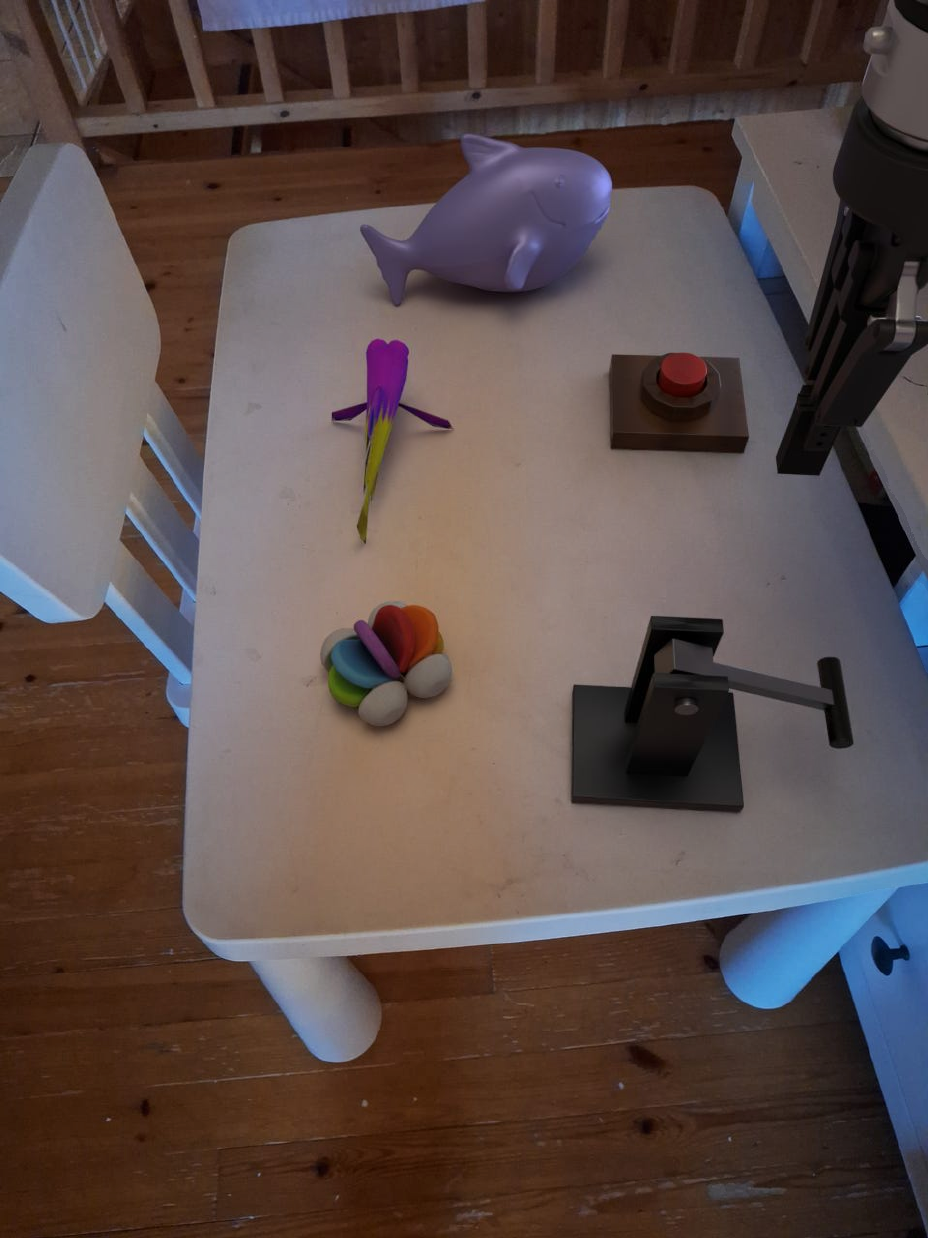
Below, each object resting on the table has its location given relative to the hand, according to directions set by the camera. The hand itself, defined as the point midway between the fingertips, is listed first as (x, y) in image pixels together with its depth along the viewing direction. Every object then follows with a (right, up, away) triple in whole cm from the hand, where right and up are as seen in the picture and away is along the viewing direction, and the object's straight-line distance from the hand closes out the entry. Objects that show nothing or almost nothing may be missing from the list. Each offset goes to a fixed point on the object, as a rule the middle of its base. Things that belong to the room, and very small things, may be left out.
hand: (797, 465), depth 60 cm
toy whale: (-20, +25, +35) cm, 47 cm away
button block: (-3, +9, +25) cm, 26 cm away
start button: (-3, +11, +22) cm, 24 cm away
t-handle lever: (-4, -15, -2) cm, 16 cm away
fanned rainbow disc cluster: (-28, -15, +11) cm, 34 cm away
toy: (-30, +3, +22) cm, 37 cm away
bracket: (-8, -20, +7) cm, 23 cm away
